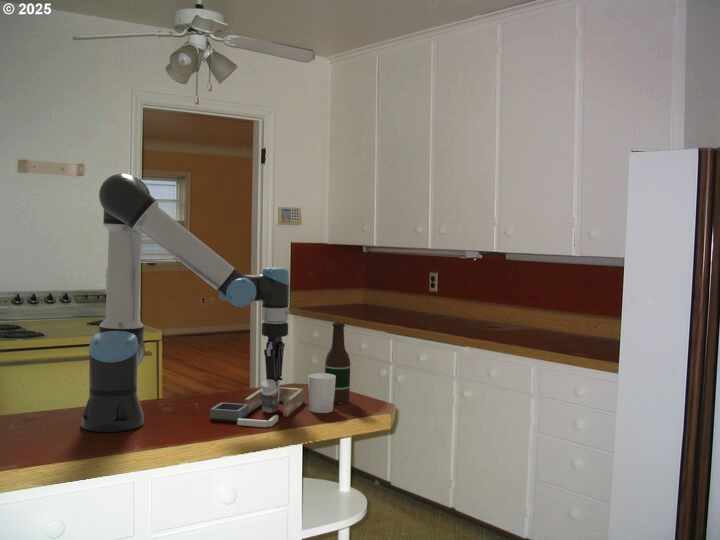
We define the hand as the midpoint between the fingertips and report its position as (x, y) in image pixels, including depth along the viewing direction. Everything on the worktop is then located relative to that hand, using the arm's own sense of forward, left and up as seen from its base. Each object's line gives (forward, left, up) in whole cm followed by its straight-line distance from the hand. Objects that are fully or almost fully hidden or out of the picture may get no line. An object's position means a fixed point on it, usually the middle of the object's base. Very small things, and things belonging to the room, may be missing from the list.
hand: (273, 403), depth 209 cm
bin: (-9, -13, -2) cm, 15 cm away
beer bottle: (+15, +14, -2) cm, 21 cm away
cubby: (0, +2, -2) cm, 2 cm away
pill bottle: (0, -3, -1) cm, 3 cm away
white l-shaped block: (0, -16, -2) cm, 16 cm away
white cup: (+13, +2, -2) cm, 14 cm away
